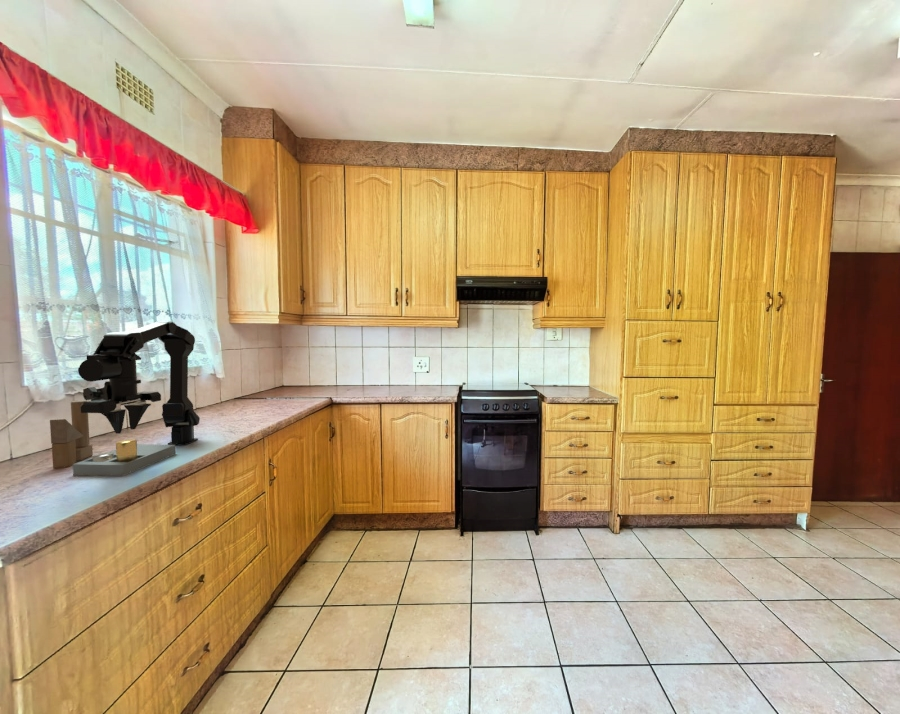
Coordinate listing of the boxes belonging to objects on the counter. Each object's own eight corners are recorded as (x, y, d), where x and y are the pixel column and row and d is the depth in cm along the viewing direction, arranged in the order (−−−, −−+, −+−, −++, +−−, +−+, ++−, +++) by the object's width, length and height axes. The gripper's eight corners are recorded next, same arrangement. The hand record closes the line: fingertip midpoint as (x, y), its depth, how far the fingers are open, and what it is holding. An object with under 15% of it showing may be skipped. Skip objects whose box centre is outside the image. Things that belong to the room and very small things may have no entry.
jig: (133, 453, 115) (133, 444, 115) (175, 453, 115) (175, 444, 114) (73, 475, 97) (72, 464, 97) (123, 475, 97) (122, 465, 96)
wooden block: (52, 468, 101) (48, 406, 100) (79, 456, 112) (76, 400, 111) (68, 467, 103) (64, 406, 101) (93, 455, 113) (90, 399, 112)
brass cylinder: (127, 465, 104) (126, 439, 103) (141, 466, 104) (140, 439, 103) (112, 471, 99) (111, 443, 99) (127, 471, 99) (126, 444, 99)
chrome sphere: (104, 465, 104) (103, 452, 104) (118, 465, 104) (118, 452, 104) (88, 471, 100) (87, 457, 99) (103, 471, 100) (103, 457, 99)
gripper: (126, 373, 110) (128, 422, 110) (58, 380, 91) (61, 440, 92) (161, 373, 109) (163, 423, 110) (100, 381, 91) (103, 441, 92)
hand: (125, 431), depth 101 cm, fingers open, 4 cm apart
